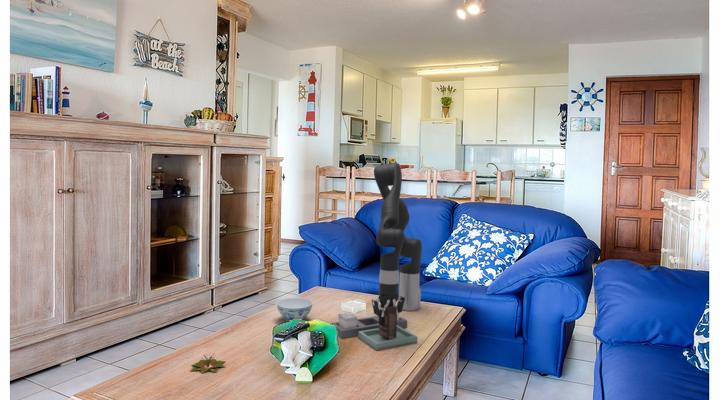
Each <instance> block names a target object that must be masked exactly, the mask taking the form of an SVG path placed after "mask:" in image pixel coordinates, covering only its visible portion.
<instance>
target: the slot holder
mask: <svg viewBox="0 0 720 400" xmlns="http://www.w3.org/2000/svg"><path fill="white" fill-rule="evenodd" d="M331 324H332V325H335V326H336V327H337V331H338V336H337V337H338V338H340V339H342V340H343V339H348V338H354V337H358V332H359V331H365V330H371V329H377V328H379V316H377V315H376V316H369V317H362V318H357V327H355V328H348V329H342V328H341V327H340V326H339V321H334V322H330V325H331ZM397 325H398V326H400V327H401V328H403V329H405V328H406V329H407V328H408V320H407V319H405V318H403V317H401V316H399V321H397Z"/></svg>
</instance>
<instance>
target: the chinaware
mask: <svg viewBox="0 0 720 400" xmlns="http://www.w3.org/2000/svg"><path fill="white" fill-rule="evenodd" d="M276 305H277V306H276V307H277V310H278V313H279V314H280V316H282V318H283V319H285V320H286V322H287V321H290V320H293V319H303V320H304V319H305V318H306V317H308V315H309V314H310V312H311V311H312V308H313V305H314V303H313V301H312V300H311V299H308V298H304V297H303V298H302V297H290V298H284V299H280V300H278V301H277V302H276Z"/></svg>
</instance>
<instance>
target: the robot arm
mask: <svg viewBox="0 0 720 400" xmlns="http://www.w3.org/2000/svg"><path fill="white" fill-rule="evenodd" d="M373 175H374V176H373V177H374V179H375V182H376V186H377V188H378V190H379V192H380V195H381V198H382V204H381V207H380V223H379V224H380V225H379V228H378V231H377V233H376V239H375V241H376V244H377V245H378V246H379V247H381V248H394V249H393V250H392V251H390V252H389V251H388V252H385V253H382V254H381V255H380V267H379V277H378V279H379V280H378V297H377V298H376V299H371V305H372V309H373V314H374V315H376V316H379V324H380V325H381V326H384V314H385V311H386V310H387V307H390V306H396V307H397V314H398V313H400V314H401V313H402V312H403V311H408V312H413V311H417V310H420V309H421V298H422V297H421V296H422V295H421V294H422V290H421V287H420V272H421V264H422V255H423V254H422V252H423V251H422V250H423V244H422V241H421V239H420V238H414V237H413V238H412V237H406V235H405V229H406V228H407V226H408V224H409V221H410V213H409V209H408V206H407V204H406V202H405V201H404V200H403V199H402V198H400V197H401V190H402V184H403V183H402V181H403V173H402V169H401V166H400V164H399V163H398V162H391V163H384V164H380V165H376V166H375V167H374V169H373ZM390 187H391V189H390ZM400 257H402V258H409V259H410V262H408V263H405V264H402V265H400ZM379 305H380V307H379ZM382 306H383V307H384V308H382Z"/></svg>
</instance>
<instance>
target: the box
mask: <svg viewBox="0 0 720 400" xmlns="http://www.w3.org/2000/svg"><path fill="white" fill-rule="evenodd" d="M378 306H379V307H380V304H379V305H378ZM382 308H384V307H383V306H382ZM396 331H397V307H396V306H390V307H387V310H386V311H385V314H384V326H381V325H380V324H379V335H380V336H382V337H385V338H387V339H392V338H395V337H396Z"/></svg>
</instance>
